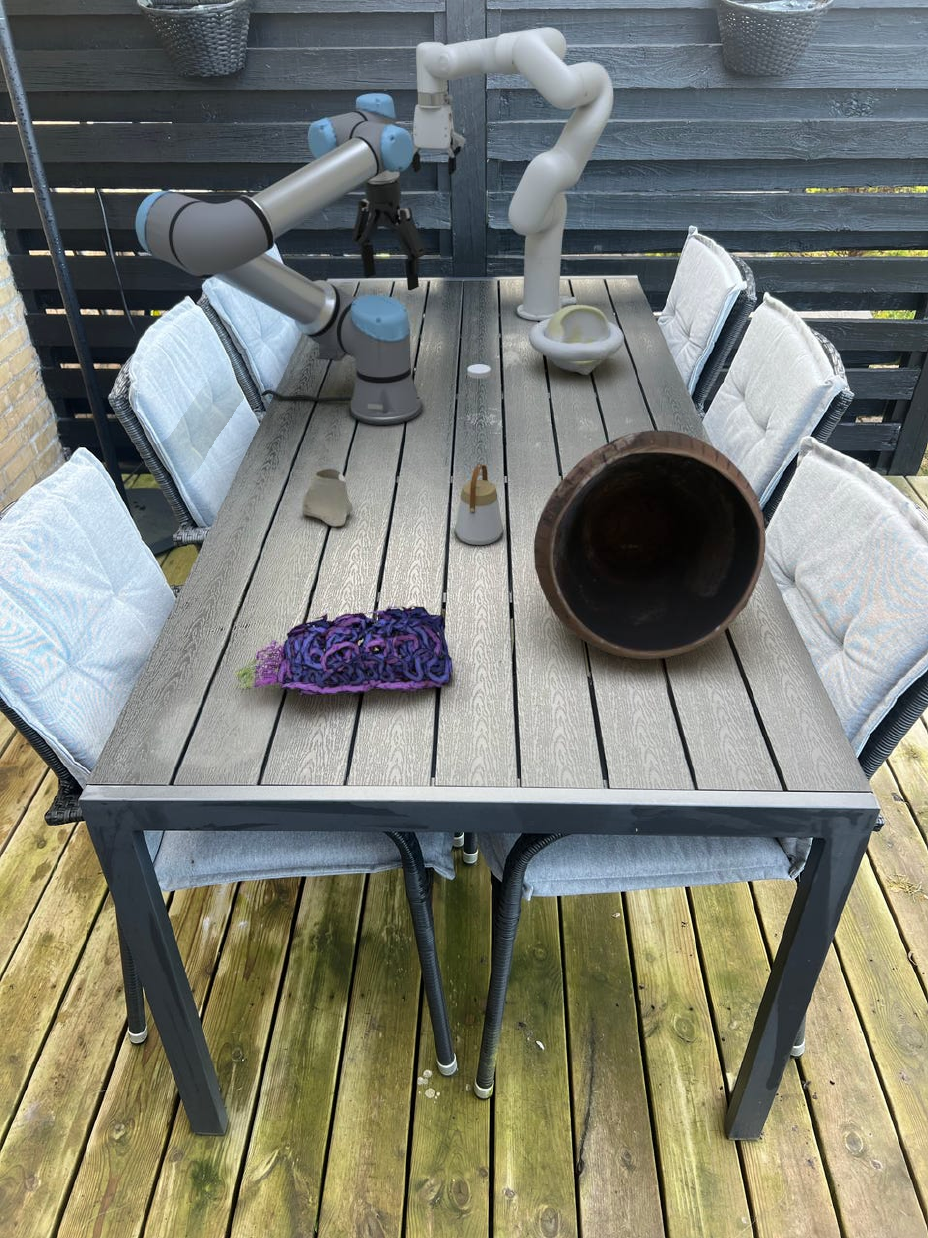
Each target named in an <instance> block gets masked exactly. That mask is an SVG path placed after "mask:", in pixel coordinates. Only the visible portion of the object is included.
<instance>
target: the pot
mask: <svg viewBox="0 0 928 1238" xmlns="http://www.w3.org/2000/svg"><path fill="white" fill-rule="evenodd" d="M535 530H536V531H535V534H534V540H533V545H534V546H533V558H534V569H535V572H536V576H537V579H538V582H539V585H540V587H541V590H542V592H543V594H544V597H545V599H546V601H547V603H548V605H549V607H550V608H551V610H552V612H553V613H554V614H555V616H556V617H557V619H558V620H559V621H560V622H561V623H562V624H563V625H564V626H565V627H566V628H568V629H569V630H570V631H571V632H572V633H573V634H574V635H576V636H577V637H578V638H580V639H581V640H582V641H583V642H585V643H586V644H589V645H591V646H593V647H594V648H597V649H599V650H601V651H603V652H606V653H608V654H611V655H614V656H616V657H623V658H631V659H639V660H654V659H668V658H672V657H673V656H678V655H682V654H686V653H688V652H691V651H693V650H695V649H697V648H699V647H701V646H703V645H705V644H707V643H709V642H710V641H712V640H713V639H715V638H716V637H718V636H720V635H721V634H722V633H723V632H725V631H726V630H727V629H728V628H729V626H730V625H731V624H732V623H734V622H735V620H736V619H737V618H738V616H739V614H740V613H741V612H742V611H743V610H744V609H745V608H747V606H748V603H749V601H750V599H751V597H752V595H753V594H754V591H755V589H756V588H757V587H756V586H757V585H756V584H757V583H758V581H759V579H760V576H761V573H762V569H763V566H764V561H765V553H766V542H767V541H766V539H767V538H766V530H765V521H764V513H763V511H762V509H761V506H760V502H759V499H758V496H757V494H756V492H755V490H754V489H753V487H752V485H751V483H750V482H749V480H748V479H747V477H746V476H745V475H744V474H743V472H742V471H741V470H740V469H739V467H738V466H736V465H735V464H734V463H733V461H732V460H730V459H729V458H728V457H727V456H726V455H725V454H724V453H723V452H721V450H718V449H717V448H716V447H714V446H713V445H711V444H709V443H707V442H705V441H703V440H702V439H699V438H696V437H693V436H690V435H688V434H685V433H682V432H677V431H673V430H659V429H657V430H655V429H652V430H645V431H638V432H634V433H633V432H632V433H629V434H626V435H623V436H620V437H618V438H615V439H613V440H611V441H610V442H608V443H606V444H604V445H602V446H600V447H599V448H596V449H595V450H593V451H592V452H590V453H589V454H587V455H585V456H584V457H583V458H582V459H581V460H580V461H578V462H577V463H576V464H575V465H574V466H573V468H572V469H571V470H570V471H569V472H568V473H567V474H566V476H565V477H564V478H563V479H562V480H561V481H560V482H559V483H558V485H557V486H556V487H555V488H554V489H553V491H552V493H551V494H550V496H549V497H548V499H547V501H546V503H545V506H544V507H543V509H542V510H541V513H540V516H539V520H538V522H537V525H536V529H535Z"/></svg>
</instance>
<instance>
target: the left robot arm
mask: <svg viewBox="0 0 928 1238" xmlns="http://www.w3.org/2000/svg"><path fill="white" fill-rule="evenodd" d="M409 132H410V131H408V130H407V129H405V128H403V127H399V126H397V117H396V110H395V104H394V99H393V98H392V96H390V95H389V94H386V93H378V92H377V93H375V92H373V93H366V94H362V95H360V96H358V97H357V98H356V100H355V110H353V111H351V112H347V113H343V114H338V115H333V116H329V117H323V118H321V119H319V120H316V121H314V122H312V123H311V124H310V126H309V128H308V132H307V141H308V147H309V150H310V153H311V154H312V156H313V158H314V159H315V160H313V161H311V162H309V163H308V164H306V165H305V166H304V165H303V166H302V167H301V168H299V169H298V170H297V169H296V171H293V172H292V173H290V174H289V175H287V176H285V177H284V178H282V179H281V180H279V181H277V182H275V183H273V184H272V185H269V187H267V188H265V189H263V190H262V191H259V192H258V193H256V194H254V195H253V196H248V195H239V196H238V197H236V198H234V199H232V200H230V201H227V202H222V203H209V202H206V201H203V200H200V199H197V198H193V197H191V196H187V195H183V194H181V193H178V192H177V191H172V190H159V191H155V192H153V193H151V194H149V195H148V196H147V197H145V198H144V200H143V201H142V202H141V204H140V205H139V208H138V210H137V213H136V216H135V233H136V235H137V238H138V242H139V244H140V245H141V247H142V248H143V249H144V251H145V252H146V253H148V254H149V255H151V256H152V257H153V258H155V259H156V260H159V261H164V262H166V263H169V264H171V265H173V266H175V267H177V268H179V269H181V270H182V271H184V272H186V273H188V274H189V275H192V276H194V277H196V278H198V279H199V280H202V281H204V280H205V281H206V280H211V279H213V278H216V279H217V280H219V281H221V282H222V283H224V284H226V285H228V286H230V287H232V288H234V289H236V290H238V291H239V292H241V293H243V294H245V295H247V296H249V297H251V298H252V299H254V300H257V302H260V303H262V304H264V305H265V306H267V307H269V308H271V309H273V310H274V311H277V312H278V313H280V314H282V315H284V316H286V317H288V318H290V319H291V320H293V321H294V324H295V326H296V328H297V329H298V331H299V332H300V333H302V334H304V335H306V336H307V338H309V339H310V340H312V341H313V342H314V343H316V344H318V345H319V344H321V345H324V346H328V347H331V348H333V349H336V350H338V351H341V352H344V353H345V354H346V355H348V356H351V357H353V358H354V363H355V373H356V374H355V375H356V379H355V383H354V388H353V395H352V396H329V397H328V396H327V397H326V396H325V397H319V396H314V395H313V396H312V395H308V394H295V395H283V394H280V393H278V392H276V391H275V390H272V389H266V390H263V392H262V393H261V394H260V395H261V396H262V397H266V396H267V395H272V396H274V397H275V398H278V399H280V400H285V401H293V400H309V401H314V402H350V413H351V415H352V417H353V418H354V419H356V420H357V421H359V422H362V423H364V424H369V425H375V426H393V425H398V424H403V423H406V422H409V421H411V420H413V419H415V418H417V416H419V415H420V413H421V411H422V401H421V396H420V395H419V393H418V390H417V386H416V385H415V381H414V378H413V377H412V363H411V362H412V361H411V324H410V321H409V313H408V309H407V307H406V306H405V305H404V304H403V303H402V302H401V301H400V300H398V299H397V298H394V297H391V296H388V295H379V294H366V295H362V296H359V297H356V296H353V295H351V294H350V293H347V292H345V291H343V290H342V289H340V288H338V287H337V286H335V285H333V284H332V283H330V282H329V281H327V280H324V279H323V280H322V279H318V280H315V281H312V280H310V279H309V278H307V277H306V276H304V275H303V274H301V273H299V272H297V271H296V270H295V269H292V268H290V267H289V266H288V265H285V264H284V263H282V262H281V261H279V260H277V259H276V258H273V256H271V255H269V254H267V252H268V251H270V250H272V249H273V248H274V246H275V241H276V239H277V238H279V237H281V236H282V235H284V234H285V233H287V232H288V231H290V230H292V229H293V228H295V227H296V226H298V225H300V224H301V223H303V222H305V221H307V220H308V219H310V218H311V217H313V216H314V215H316V214H318V213H319V212H320V211H322V210H324V209H325V208H327V207H329V206H330V205H332V204H334V203H335V202H337V201H338V200H340V199H342V198H343V197H344V196H347V195H348V194H349V193H351V192H353V191H354V190H357V189H358V188H360V187H361V186H362V185H364V194H365V195H364V196H365V198H363V199H360V200H358V202H357V208H358V209H357V215H356V219H355V224H354V228H353V232H352V235H351V241H352V242H353V243H357V245H358V247H359V250H360V258H361V261H362V266H363V275H364V278H366V279H368V278H370V277H373V276H375V275H376V274H377V273H376V265H375V256H374V245H373V244H372V239H373V237H374V235H376V232H377V230H378V228H379V227H380V228H381V227H383V228H385V229H388V230H389V232H390V233H393V234H394V237H395V238H396V239H397V242H398V243H399V245H400V246H401V248H402V251H403V252H404V254H405V255H406V257H407V258H406V259H405V260H404V261H405V273H406V285H407V291H409V292H410V291H413V290H415V289H418V288H420V284H419V282H420V281H419V274H420V260H419V259H420V258H422V257H424V256H426V254H427V252H426V250H425V246H424V244H423V242H422V239H421V236H420V234H419V231H418V228H417V226H416V223H415V221H414V217H413V210H412V208H411V207H410V206H408V207H405V208H401V206H400V200H401V199H402V186H401V180H400V178H399V177H400V176H401V175H400V173H402V172H404V171H406V170H407V169H408V168H409V167H410V165H411V163H412V159H413V155H414V146H415V145H414V140H413V136H412V137H411V135H410V134H409Z"/></svg>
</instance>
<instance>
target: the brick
mask: <svg viewBox="0 0 928 1238" xmlns="http://www.w3.org/2000/svg"><path fill="white" fill-rule="evenodd" d="M318 353H319V358H320V359H326V360H327V359H328V360H337V361H339V360H340V359H342V357H343V356H344V355H345V354H346V353H344V352H341V351H338V350H336V349H333V348H331V347H328V346H324V345H321V344H318Z"/></svg>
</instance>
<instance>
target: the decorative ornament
mask: <svg viewBox="0 0 928 1238" xmlns="http://www.w3.org/2000/svg"><path fill="white" fill-rule="evenodd" d="M401 608H402V609H400V607H398V606H391V605H390V606H387V608H386V609H385V610H375V611H369V612H357V613H347V612H346V613H345V614H341V615H339V616H336V617H335V619H333V620H328V613H325V614H323V615H322V616H317V617H316V618H314V620H313V621H309V622H303V623H300V624H298V625H294V627H292V628H291V629H290V630H289V631H288V632H287V633H286V636H287V639H286V640H284V643H283V644H280V645H278V646H277V644H278V641H277V640H274V639H273V640H272V641H270V643H268V644H269V646H265V649H264V648H262V649H261V650H260V651H259V650H258V651H257V653H256V655H255V656H254V657H255V658H254V659H253V660H252V661H250V663H248V664H247V665H245V666H243V667H241V668H239V669H238V670H236V673H235V675H236V677H235V679H238V681H239V683H238V684H237V686H236V688H235V690H238V689H240V687H239V686H242V685H243V684H244V685H243V686H242V687H241V689H242V690H241V693H243V692H244V690H251V689H260V688H261V689H260V690H262V691H263V688H264V686H266V688H267V690H268V689H269V690H270V689H273V687H269V688H268V686H271V685H276V689H280V690H285V692H286V693H289V691H290V690H298V691H297V693H298V695H301V696H310V697H311V696H312V697H317V696H331V695H342V694H347V693H348V694H365V693H370V690H395V691H397V690H402V691H403V692H404V693H405V692H419V691H420V690H421V689H433V688H434V689H436V688H438V689H439V688H442V684H444V683H445V684H446V683H450V680H451V677H452V673H453V672H454V670H453V658H452V657H451V656H450V654H449V652H450V651H449V647H448V643H447V640H446V635H445V633H444V630H445V629H446V621H445V617H444V616H443V614H430V613H429V612H428V610H427V609H426V608H425V607H424V606H419V605H418V606H416V605H412V606H410V607H405V606H401ZM366 614H376V618H377V619H376V618H375V619H374V618H370V617H368V616H367V615H366ZM373 621H375V622H373ZM360 641H361V642H360ZM359 642H360V644H359ZM276 646H277V647H276ZM376 649H377V650H376ZM265 653H267V655H265ZM251 666H253V667H251ZM265 666H266V667H265ZM253 674H254V675H253ZM425 675H426V676H425ZM278 685H280V686H278ZM277 686H278V687H277Z"/></svg>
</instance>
